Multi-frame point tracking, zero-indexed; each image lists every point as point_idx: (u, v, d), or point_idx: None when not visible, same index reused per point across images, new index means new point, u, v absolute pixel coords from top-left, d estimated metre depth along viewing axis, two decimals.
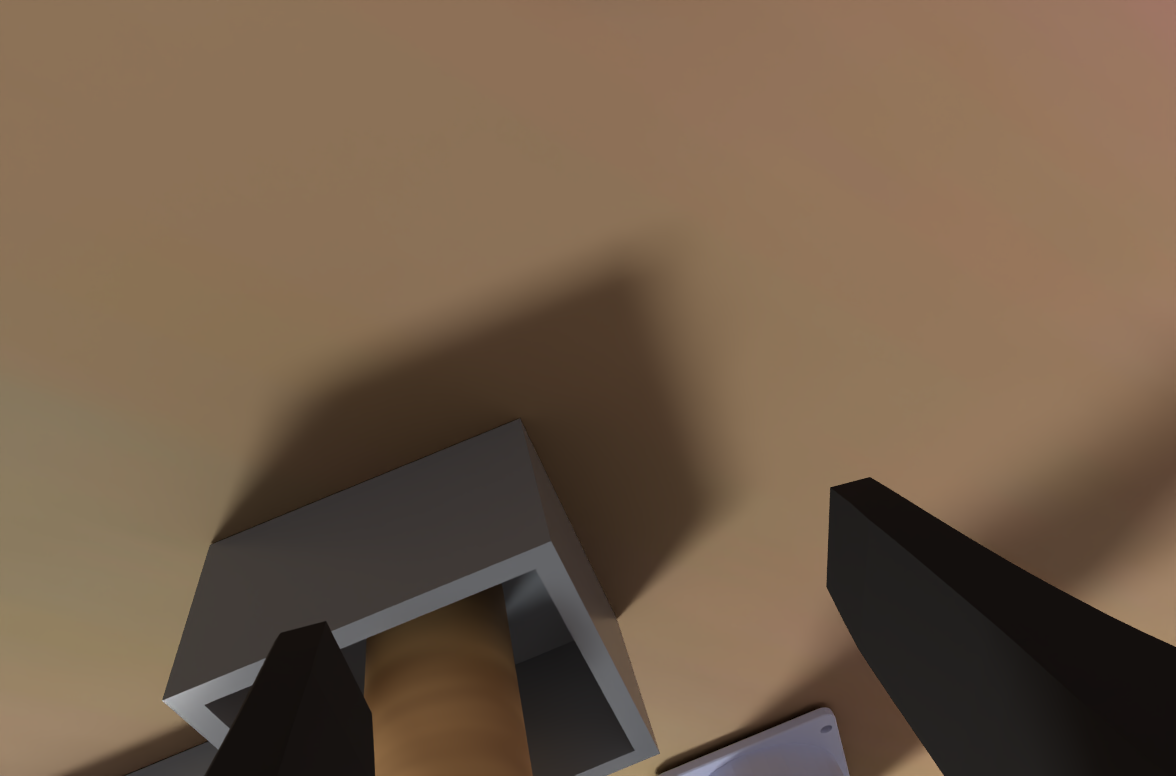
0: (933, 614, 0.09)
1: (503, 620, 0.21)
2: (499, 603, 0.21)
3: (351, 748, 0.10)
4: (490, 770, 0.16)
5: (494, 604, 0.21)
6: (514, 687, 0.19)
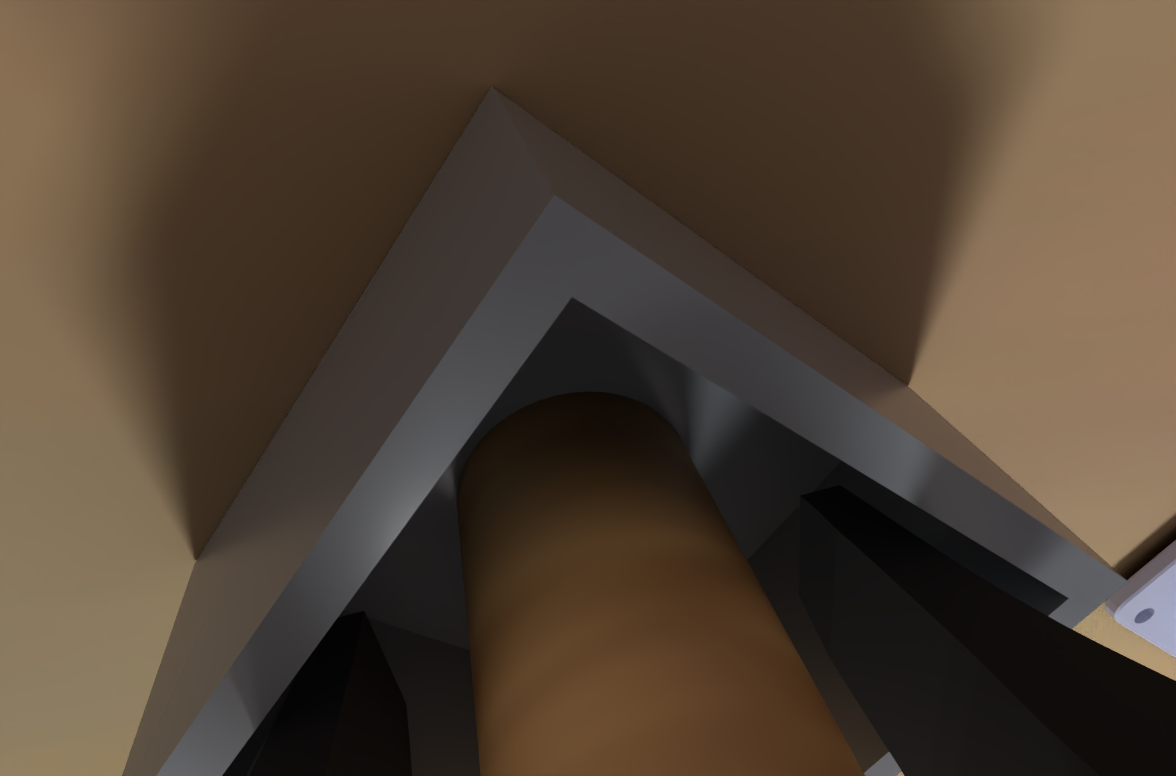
0: (897, 624, 0.09)
1: (675, 470, 0.11)
2: (657, 445, 0.11)
3: (390, 737, 0.10)
4: None
5: (645, 450, 0.11)
6: (735, 584, 0.09)
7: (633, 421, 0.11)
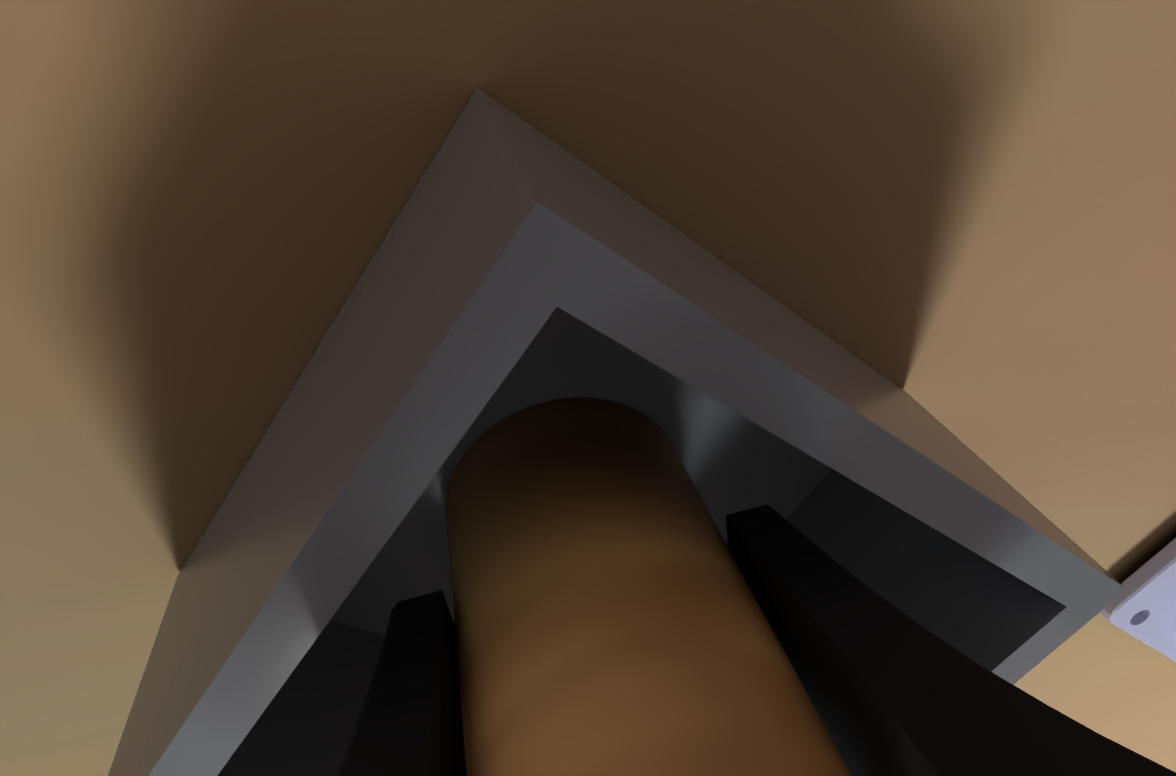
0: (808, 650, 0.08)
1: (666, 478, 0.10)
2: (648, 452, 0.11)
3: None
4: None
5: (636, 457, 0.10)
6: (727, 596, 0.08)
7: (624, 427, 0.11)
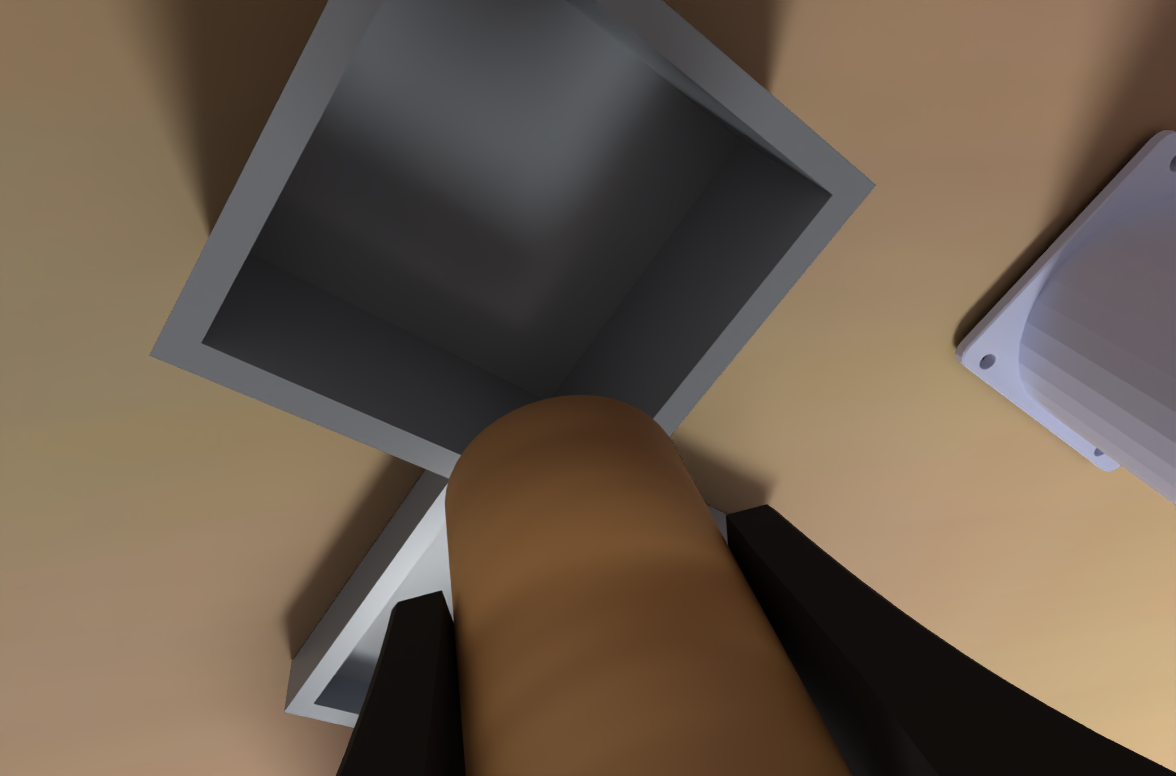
0: (808, 650, 0.08)
1: (666, 475, 0.10)
2: (648, 450, 0.11)
3: None
4: None
5: (636, 454, 0.10)
6: (727, 594, 0.08)
7: (624, 425, 0.11)
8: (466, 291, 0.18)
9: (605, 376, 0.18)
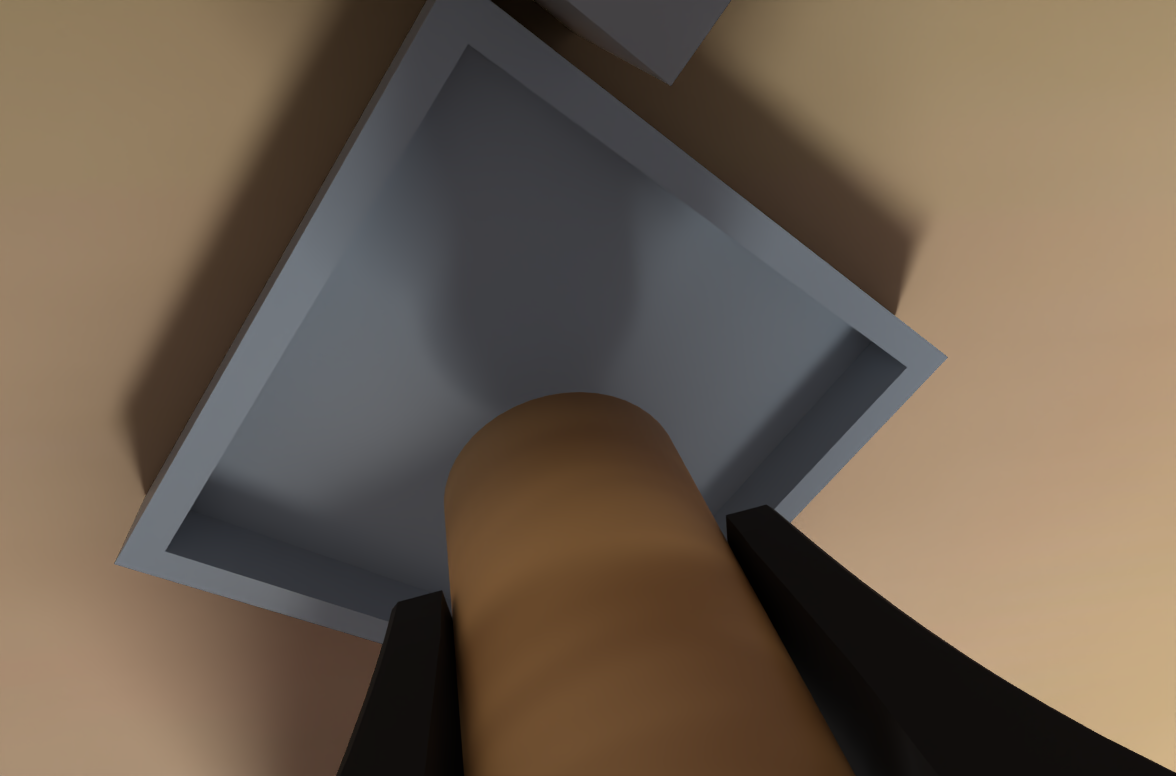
0: (808, 650, 0.08)
1: (667, 472, 0.10)
2: (649, 447, 0.11)
3: None
4: None
5: (637, 451, 0.10)
6: (728, 588, 0.08)
7: (625, 422, 0.11)
8: None
9: None
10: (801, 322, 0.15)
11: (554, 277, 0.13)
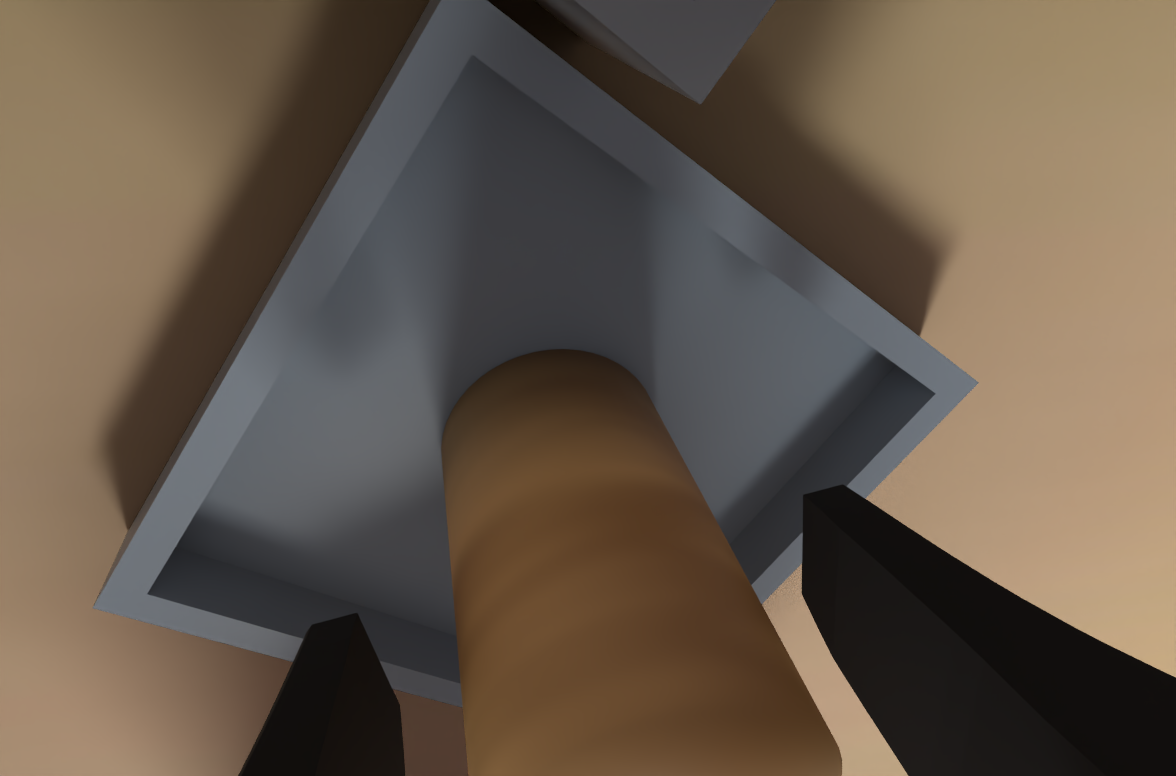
0: (900, 623, 0.09)
1: (641, 418, 0.12)
2: (626, 396, 0.12)
3: (383, 739, 0.10)
4: (660, 688, 0.07)
5: (615, 399, 0.12)
6: (689, 511, 0.10)
7: (605, 375, 0.12)
8: None
9: None
10: (823, 345, 0.14)
11: (562, 300, 0.12)
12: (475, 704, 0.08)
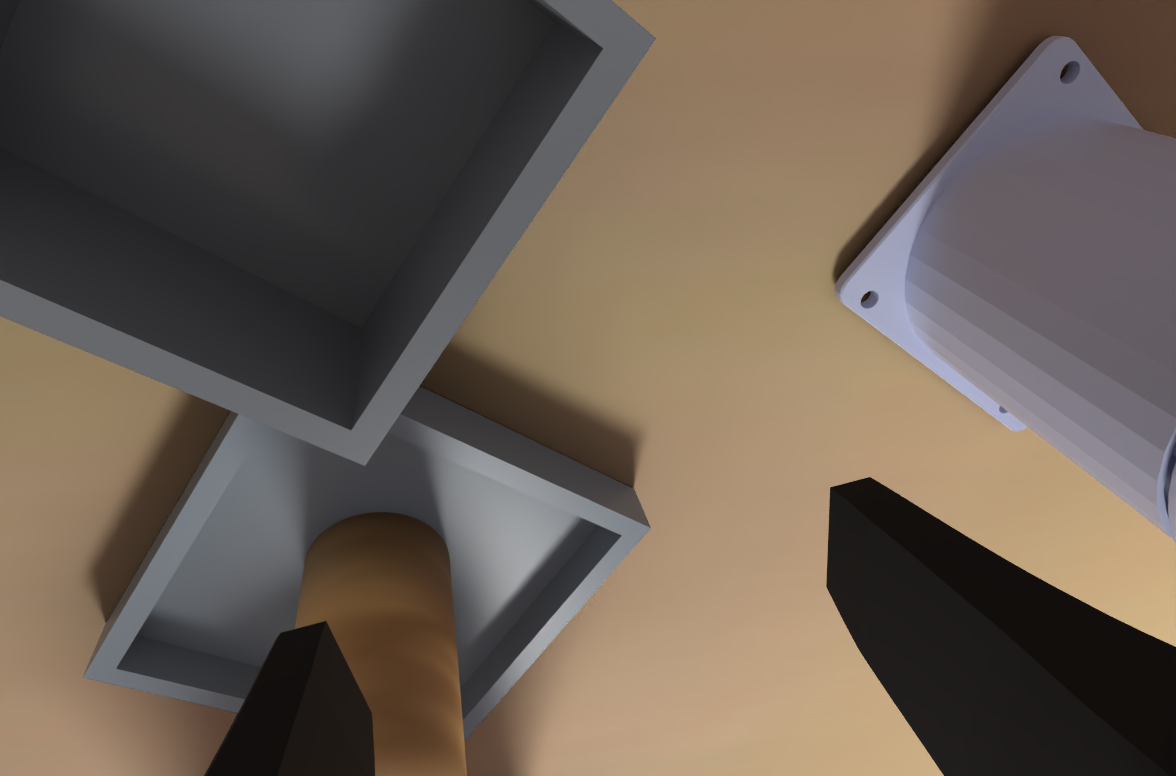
0: (933, 614, 0.09)
1: (412, 563, 0.19)
2: (407, 547, 0.20)
3: (351, 748, 0.10)
4: None
5: (397, 551, 0.19)
6: (415, 630, 0.17)
7: (398, 531, 0.20)
8: (246, 192, 0.16)
9: (403, 290, 0.16)
10: None
11: (373, 486, 0.20)
12: None
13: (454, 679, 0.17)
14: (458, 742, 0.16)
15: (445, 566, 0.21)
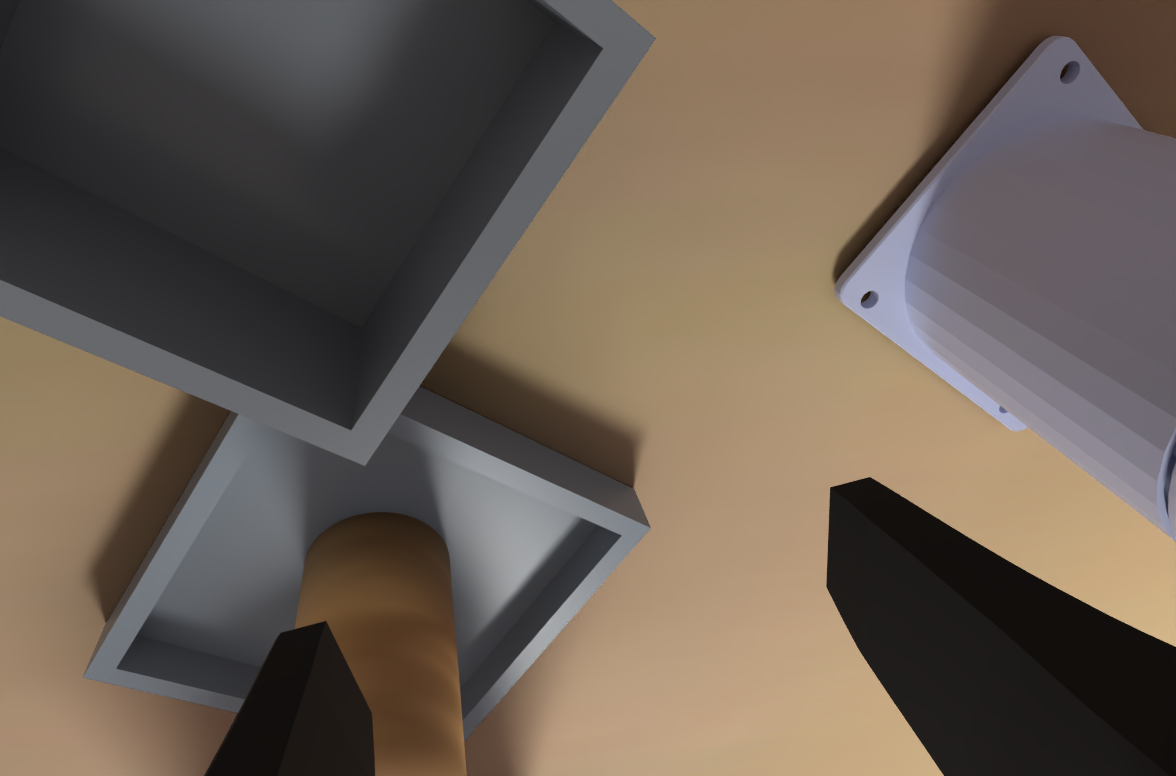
0: (933, 614, 0.09)
1: (412, 563, 0.19)
2: (407, 547, 0.20)
3: (351, 748, 0.10)
4: None
5: (397, 551, 0.19)
6: (415, 630, 0.17)
7: (398, 531, 0.20)
8: (246, 192, 0.16)
9: (403, 290, 0.16)
10: None
11: (373, 486, 0.20)
12: None
13: (454, 679, 0.17)
14: (458, 742, 0.16)
15: (445, 566, 0.21)
